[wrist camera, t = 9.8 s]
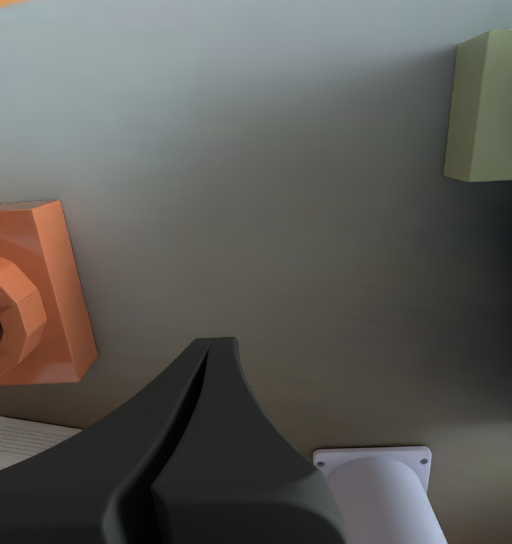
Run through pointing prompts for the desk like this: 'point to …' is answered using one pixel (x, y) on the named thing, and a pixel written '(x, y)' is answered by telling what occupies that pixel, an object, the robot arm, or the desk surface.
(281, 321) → the desk surface
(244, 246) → the desk surface
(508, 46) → the sage dispenser
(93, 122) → the desk surface
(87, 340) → the button housing
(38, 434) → the cosmetic box
